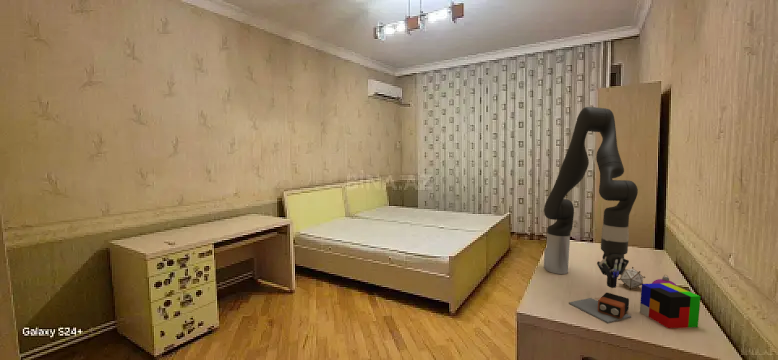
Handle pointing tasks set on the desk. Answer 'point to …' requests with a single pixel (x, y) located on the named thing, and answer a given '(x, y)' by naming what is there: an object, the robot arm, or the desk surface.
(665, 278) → the christmas ornament
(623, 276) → the game die
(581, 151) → the robot arm
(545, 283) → the desk surface
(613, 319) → the mat
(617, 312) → the battery
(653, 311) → the puzzle toy
